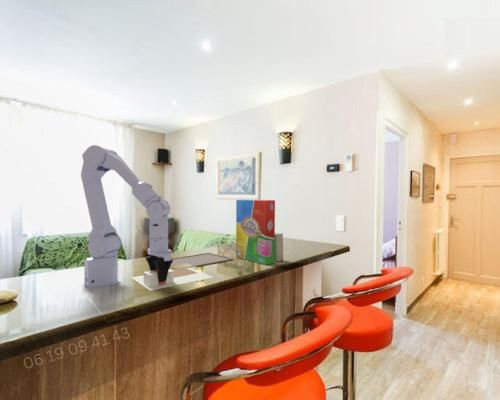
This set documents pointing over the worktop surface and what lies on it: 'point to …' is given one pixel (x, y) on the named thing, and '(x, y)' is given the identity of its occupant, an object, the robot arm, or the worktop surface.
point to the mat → (177, 278)
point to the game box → (255, 230)
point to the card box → (152, 278)
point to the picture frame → (200, 260)
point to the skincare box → (278, 246)
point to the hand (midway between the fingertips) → (158, 279)
